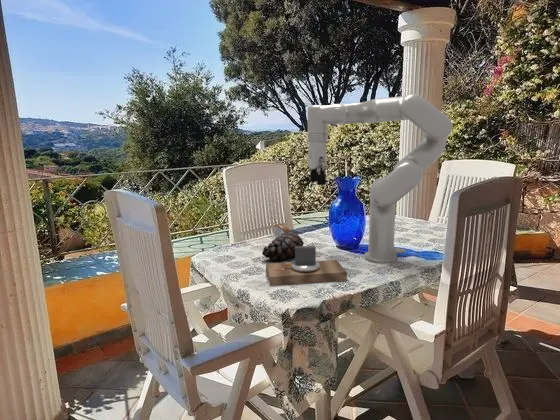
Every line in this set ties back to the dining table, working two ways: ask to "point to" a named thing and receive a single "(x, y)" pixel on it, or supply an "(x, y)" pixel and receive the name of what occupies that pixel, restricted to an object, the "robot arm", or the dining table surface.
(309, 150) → the robot arm
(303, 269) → the dial knob
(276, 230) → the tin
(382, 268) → the dining table surface
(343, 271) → the brown wooden board
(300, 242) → the pine cone
